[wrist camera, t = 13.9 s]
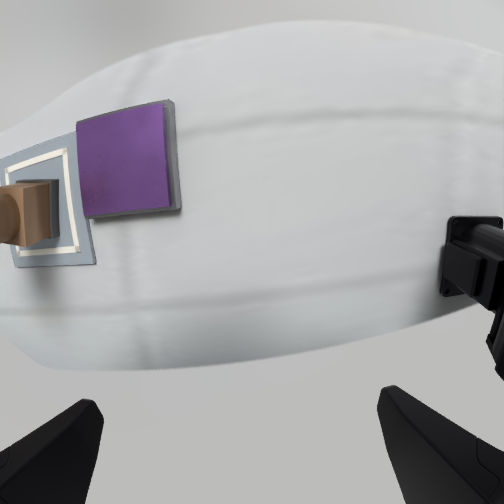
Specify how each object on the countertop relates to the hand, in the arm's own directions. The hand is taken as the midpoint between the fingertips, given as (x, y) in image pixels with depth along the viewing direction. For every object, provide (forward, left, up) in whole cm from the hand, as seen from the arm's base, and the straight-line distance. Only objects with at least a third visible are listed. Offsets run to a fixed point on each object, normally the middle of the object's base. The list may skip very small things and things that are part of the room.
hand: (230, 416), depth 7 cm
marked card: (+17, -6, -13) cm, 22 cm away
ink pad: (+8, -8, -13) cm, 17 cm away
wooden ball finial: (+16, -6, -13) cm, 21 cm away
